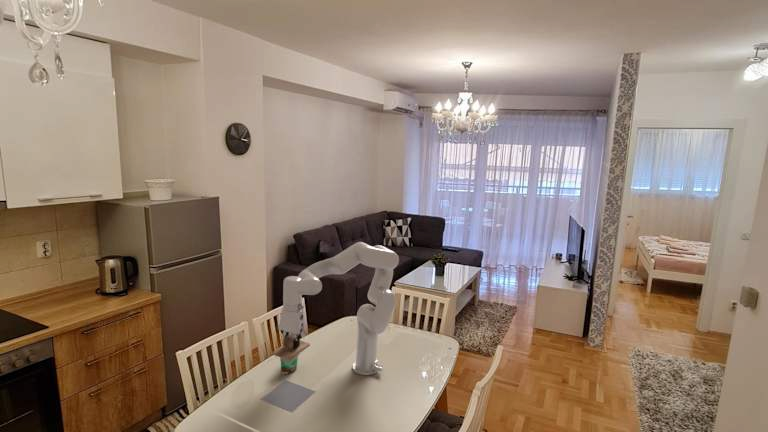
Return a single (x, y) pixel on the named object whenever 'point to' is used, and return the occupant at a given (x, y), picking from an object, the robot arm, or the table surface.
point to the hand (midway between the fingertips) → (291, 346)
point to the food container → (289, 365)
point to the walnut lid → (290, 348)
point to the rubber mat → (288, 396)
